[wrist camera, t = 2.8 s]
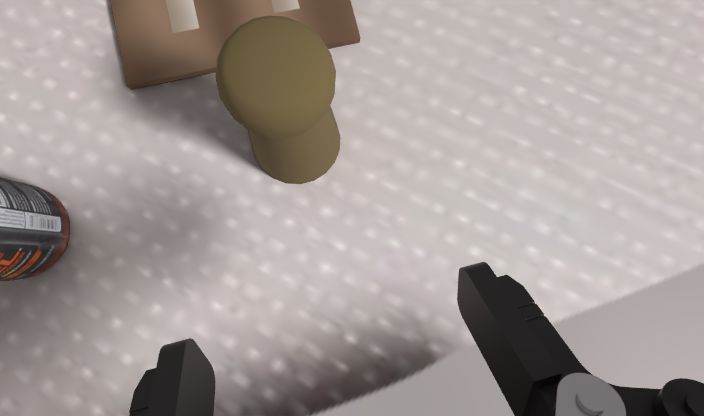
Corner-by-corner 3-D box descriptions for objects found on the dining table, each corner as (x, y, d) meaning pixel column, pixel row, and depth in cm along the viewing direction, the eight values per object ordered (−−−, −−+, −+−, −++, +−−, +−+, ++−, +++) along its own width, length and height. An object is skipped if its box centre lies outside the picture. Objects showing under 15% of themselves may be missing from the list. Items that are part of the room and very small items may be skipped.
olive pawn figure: (232, 136, 26) (162, 50, 15) (300, 81, 27) (279, -39, 16) (292, 202, 26) (263, 163, 15) (358, 144, 26) (377, 66, 16)
